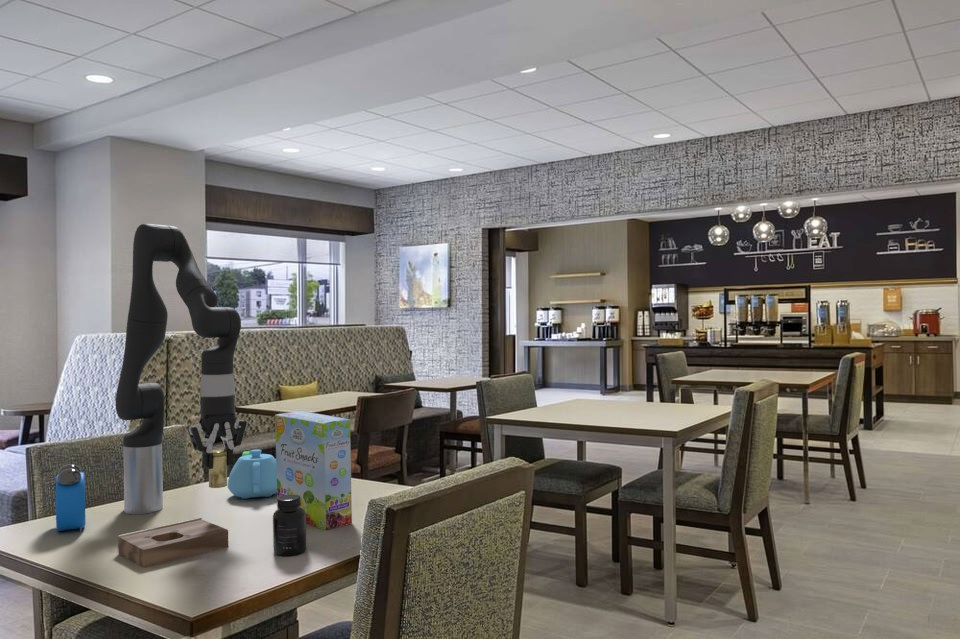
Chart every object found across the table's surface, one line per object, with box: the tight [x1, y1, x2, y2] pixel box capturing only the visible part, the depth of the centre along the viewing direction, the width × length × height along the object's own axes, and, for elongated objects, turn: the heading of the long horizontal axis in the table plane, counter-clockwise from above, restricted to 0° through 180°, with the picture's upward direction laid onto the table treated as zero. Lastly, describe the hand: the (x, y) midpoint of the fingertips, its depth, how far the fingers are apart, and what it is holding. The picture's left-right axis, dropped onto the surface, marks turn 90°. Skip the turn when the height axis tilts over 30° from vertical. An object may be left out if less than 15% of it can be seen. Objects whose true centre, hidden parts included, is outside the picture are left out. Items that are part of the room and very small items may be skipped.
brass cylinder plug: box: [208, 449, 228, 489], centre depth 170 cm, size 4×4×8 cm
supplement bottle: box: [272, 495, 308, 558], centre depth 155 cm, size 7×7×12 cm
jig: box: [117, 517, 229, 569], centre depth 157 cm, size 13×18×4 cm
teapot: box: [227, 449, 277, 500], centre depth 208 cm, size 20×20×13 cm
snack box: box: [274, 410, 353, 531], centre depth 181 cm, size 22×9×26 cm, turn 47°
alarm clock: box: [54, 463, 86, 532], centre depth 175 cm, size 13×6×15 cm, turn 29°
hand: (217, 466), depth 170 cm, fingers closed on brass cylinder plug, 4 cm apart
